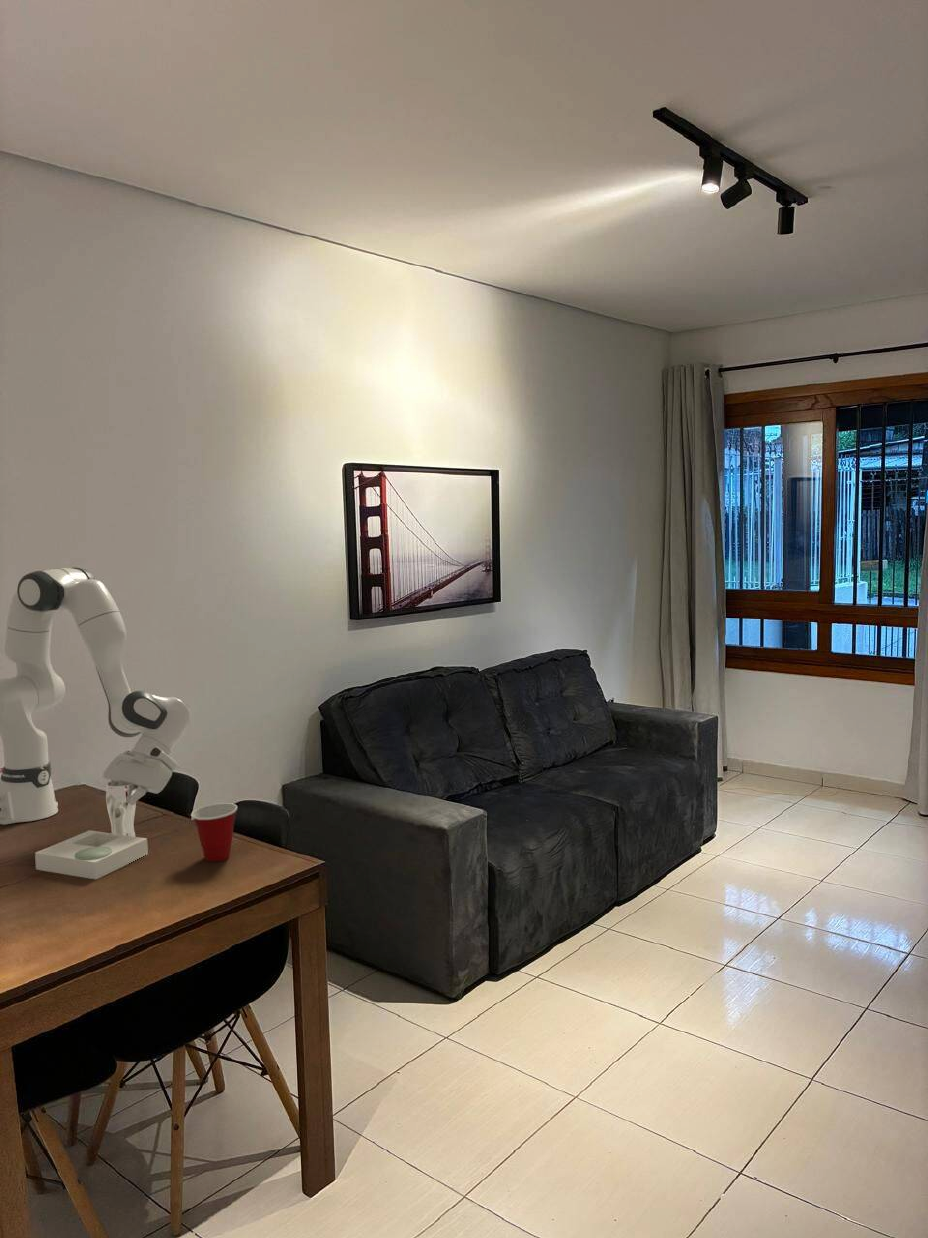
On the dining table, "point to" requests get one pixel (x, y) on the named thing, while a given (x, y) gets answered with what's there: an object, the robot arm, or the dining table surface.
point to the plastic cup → (215, 829)
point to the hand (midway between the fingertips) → (119, 801)
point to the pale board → (91, 854)
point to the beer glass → (120, 807)
